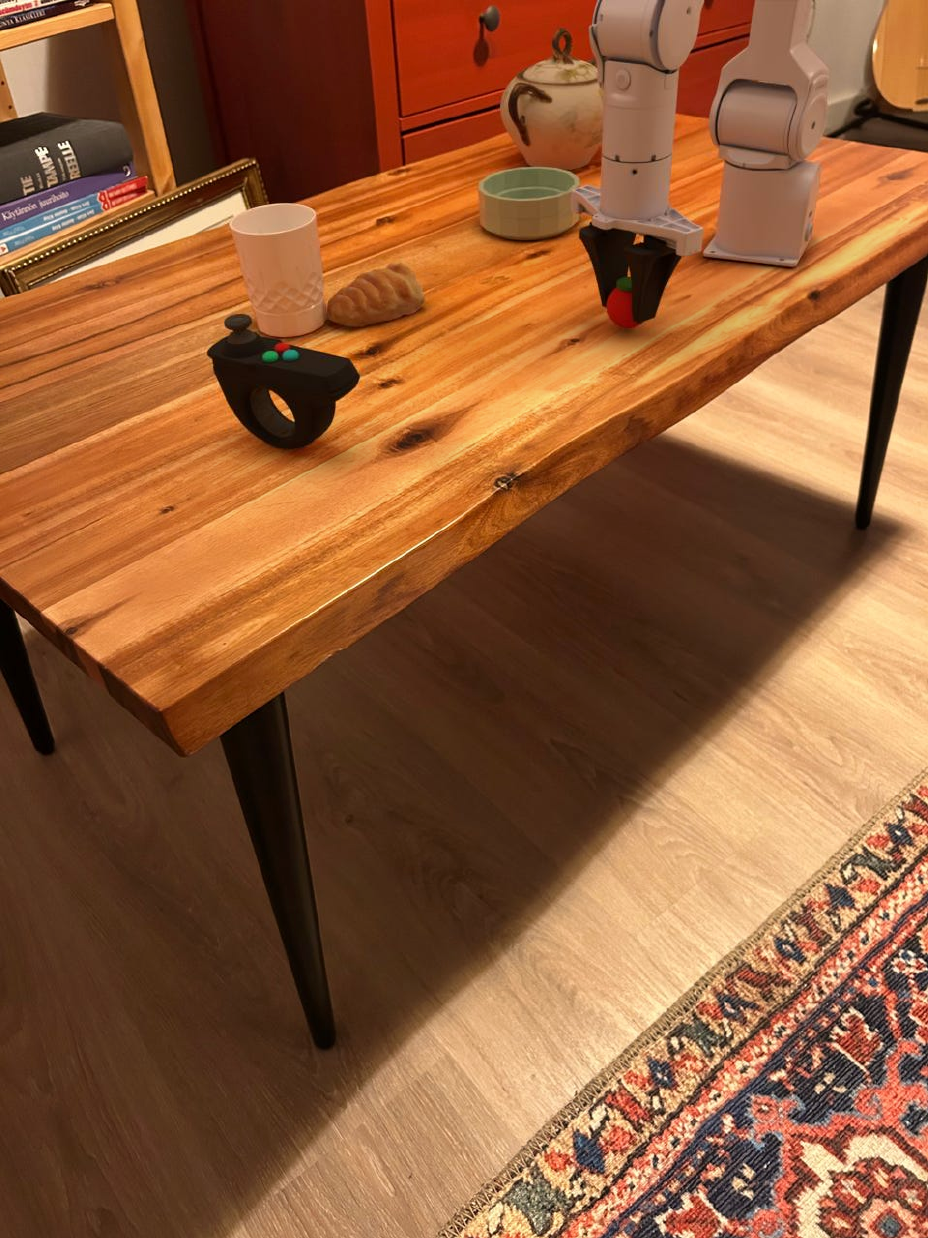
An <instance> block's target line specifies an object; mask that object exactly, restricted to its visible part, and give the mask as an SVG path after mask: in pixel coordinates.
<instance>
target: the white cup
mask: <svg viewBox="0 0 928 1238" xmlns="http://www.w3.org/2000/svg"><path fill="white" fill-rule="evenodd" d="M228 224H229V229H230V232H231V237H232V241H233V244H234V249H235V251H236V255H237V258H238V263H239V268H240V270H241V274H242V279H243V282H244V285H245V289H246V291H247V296H248V299H249V303H250V304H251V307H252V309H253V314H254V317H255V321H256V325H257V327H258V330H259V331H260V333H263V334H265V335H267V336H269V337H275V338H290V337H292V338H293V337H299V336H303V335H307V334H309V333H312V332H315V331H316V330H317V329H320V328H321V327H323V326H324V324H325V323H326V320H327V319H328V318H327V306H326V299H325V295H324V294H325V281H324V275H323V273H324V272H323V271H324V269H323V259H322V251H321V241H320V235H319V233H320V232H319V225H318V217H317V212H316V210H315V209H314V208H312V207H310V206H308V205H305V204H300V203H291V202H290V203H287V202H286V203H285V202H284V203H271V204H265V205H260V206H255V207H252V208H248V209H246V210H244V211H241V212H240V213H238V214H236V215H235V216H233V217H232V218H231V219H230V220H229V223H228Z"/></svg>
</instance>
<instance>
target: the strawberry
mask: <svg viewBox="0 0 928 1238" xmlns="http://www.w3.org/2000/svg"><path fill="white" fill-rule="evenodd" d="M606 314H607V316H608V318H609V319H610V321H611V322H612V323H613V324H614V325H615V326H617V327H619V328H621V329H626V330H627V329H628V330H629V329H634V328H637V327H639V326H641V325H643V323H636V322H634V320H633V314H632V283H631V276H628V277H623V278H620V279H618V280H617V283H616V288H615V289H614V290H613V291H612V292H611V293H610V295H609V297H608V300H607V308H606Z"/></svg>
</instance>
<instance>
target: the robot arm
mask: <svg viewBox="0 0 928 1238" xmlns="http://www.w3.org/2000/svg"><path fill="white" fill-rule="evenodd" d="M704 3H705V0H597V1H596V4H595V7H594V11H593V15H592V23H591V25H589V27H588V39H589V45H590V50H591V53H592V54H593V58H595V59H596V62H597V82H598V83H599V87H600V88H601V89H602V90H604V105H603V133H602V144H601V170H600V187H597V186H592V185H589V184H586V185H583V186H580V187H579V188H576V189H573V190H571V212H573V213H576V214H579V215H581V214H583V213H584V214H585V215H588V216H591V221H589V225H586V226H583V227H581V228H580V229H578V239H579V240H580V242H581V243H582V245H583V247H584V249H585V251H586V253H587V255H588V257H589V261H590V262H591V265H592V269H593V273H594V275H595V279H596V284H597V288H598V293H599V298H600V302H601V306H602V307H603V308H606V309H607V300H608V297H609V295H610V293H611V292H612V291H613V290H614V289H615V288H616V283H617V280H618V279H620V278H623V277H631V283H632V314H633V320H634V322H636V323H642V324H644V323H645V322H648V321H650V320H653V319H655V318H656V317H657V313H658V309H659V307H660V305H661V304H660V303H661V300H662V298H663V296H664V292H665V290H666V288H667V285H668V283H669V280H670V278H671V276H672V274H673V272H674V271H675V269H676V267H677V266H678V264H679V262H680V260H681V259H682V258H685V257H689V256H692V255H695V254H697V253H699V252H702V247H703V239H704V227H703V226H701V225H699V224H696V223H694V222H692V221H691V220H690V219H688V218H687V217H686V216H685V215H684V214H682V213H681V212H680V211H678V210H677V209H676V208H674V207H673V206H672V205H671V204H670V191H671V179H672V178H671V177H672V164H673V162H672V161H673V153H674V152H673V151H674V139H675V137H674V136H675V126H676V125H675V124H676V112H677V99H678V89H679V88H678V87H679V75H680V67H681V66H682V65H683V64H684V63H685V62H686V60H687V59H688V57H689V56H690V54H691V51H692V50H693V49H694V46H695V44H696V40H697V37H698V32H699V27H700V19H701V12H702V8H703V6H704ZM812 6H813V0H754V5H753V10H752V11H753V12H752V19H751V26H750V33H749V40H748V46H747V47H745V48H744V49H743V50H741V51H740V52H739V53H737V54H736V55H735V56H733V57H732V58H731V59H730V60H728V61H727V62H726V63H725V65H723V67H722V68H721V72H720V76H719V82H718V86H717V90H716V93H715V96H714V98H713V101H712V104H711V107H710V112H709V116H708V117H709V118H708V131H709V135H710V139H711V142H712V144H713V145H714V146H715V147H716V148H718V156H717V158H718V159H722V160H723V167H722V168H723V169H722V177H721V185H720V193H719V194H720V195H719V203H718V212H717V213H718V214H717V222H716V230H715V234H714V236H713V237H712V239H711V240H710V242H708V244H707V246H706V247H705V249H704V250H703V252H702V256H703V257H706V258H713V259H722V260H730V261H739V262H747V263H756V264H764V265H774V266H782V267H791V268H794V267H796V266H797V265H798V264H799V262H800V260H801V258H802V257H803V254H804V253H805V251H806V248H807V247H808V246H809V244H810V242H811V239H812V234H813V230H814V229H813V228H814V218H815V213H816V207H817V202H818V196H819V195H818V194H819V192H820V191H819V189H820V185H821V179H822V177H821V176H822V164H821V163H820V162H816V161H810V160H807V159H808V158H809V157H810V156H811V155H812V154H813V153H814V152H815V150H816V149H817V148H818V146H819V144H820V142H821V140H822V137H823V135H824V133H825V129H826V127H827V121H828V116H829V101H828V95H829V94H828V92H829V84H830V73H831V72H830V70H829V68H828V67H827V65H825V63H824V62H823V60H821V59H820V58H819V57H818V56H817V55H816V54H815V52H814V51H813V50H812V49H811V48H810V47H809V46H808V44H807V42H806V40H807V34H808V30H809V29H808V28H809V22H810V16H811V12H812ZM637 235H638V236H641V237H642V241H640V242H637V243H635V240H636V238H637ZM629 275H630V276H629Z"/></svg>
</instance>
